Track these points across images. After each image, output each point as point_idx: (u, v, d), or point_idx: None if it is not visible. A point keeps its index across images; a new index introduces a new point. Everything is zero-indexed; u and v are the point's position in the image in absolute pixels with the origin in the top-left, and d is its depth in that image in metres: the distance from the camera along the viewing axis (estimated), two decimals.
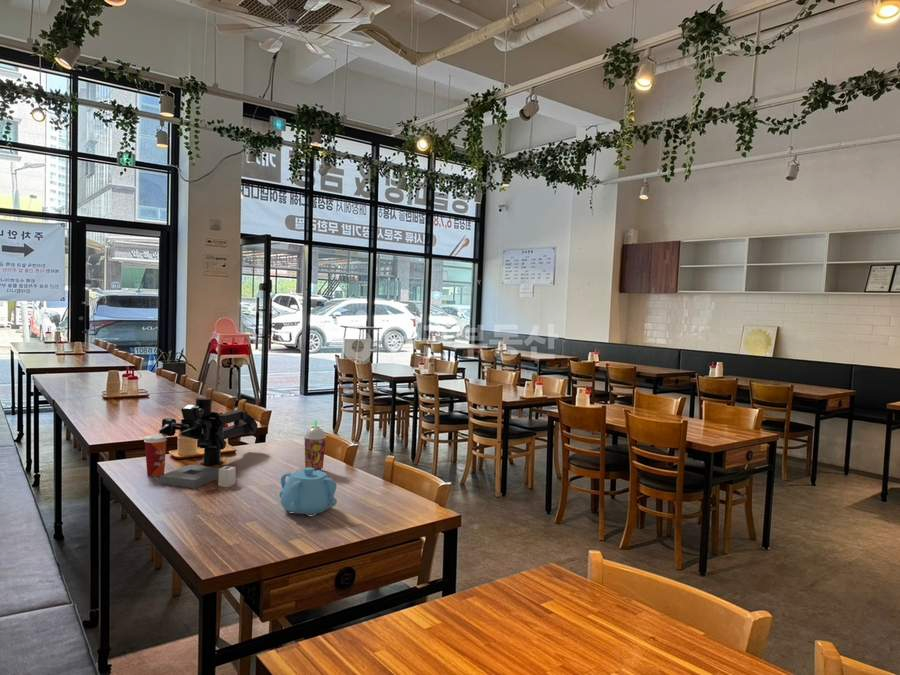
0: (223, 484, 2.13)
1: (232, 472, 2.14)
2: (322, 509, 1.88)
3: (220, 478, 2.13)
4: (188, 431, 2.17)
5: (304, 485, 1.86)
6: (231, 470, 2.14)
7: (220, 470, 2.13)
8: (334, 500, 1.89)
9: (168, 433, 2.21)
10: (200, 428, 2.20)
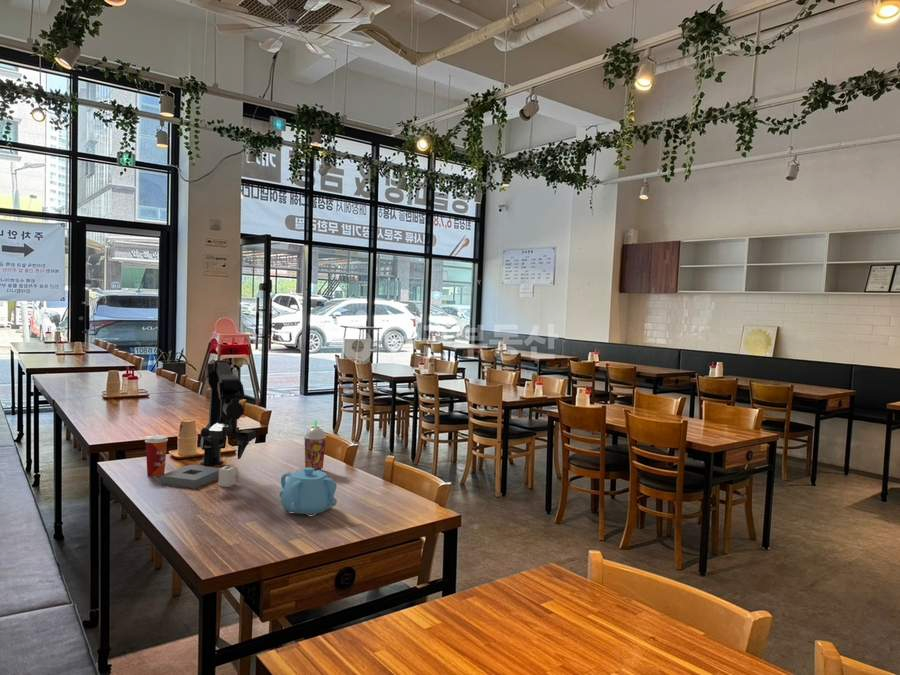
0: (223, 484, 2.13)
1: (232, 472, 2.14)
2: (322, 509, 1.88)
3: (220, 478, 2.13)
4: (240, 452, 2.12)
5: (304, 485, 1.86)
6: (231, 470, 2.14)
7: (220, 470, 2.13)
8: (334, 500, 1.89)
9: (218, 440, 2.17)
10: None
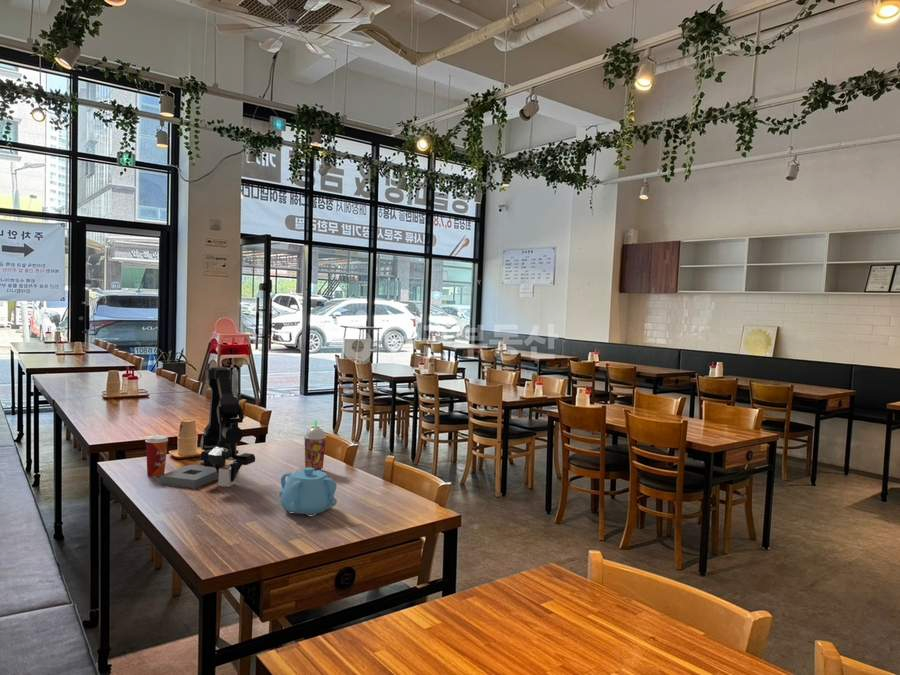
0: (223, 484, 2.13)
1: None
2: (322, 509, 1.88)
3: (220, 478, 2.13)
4: (234, 474, 2.13)
5: (304, 485, 1.86)
6: None
7: (220, 470, 2.13)
8: (334, 500, 1.89)
9: (223, 464, 2.16)
10: None
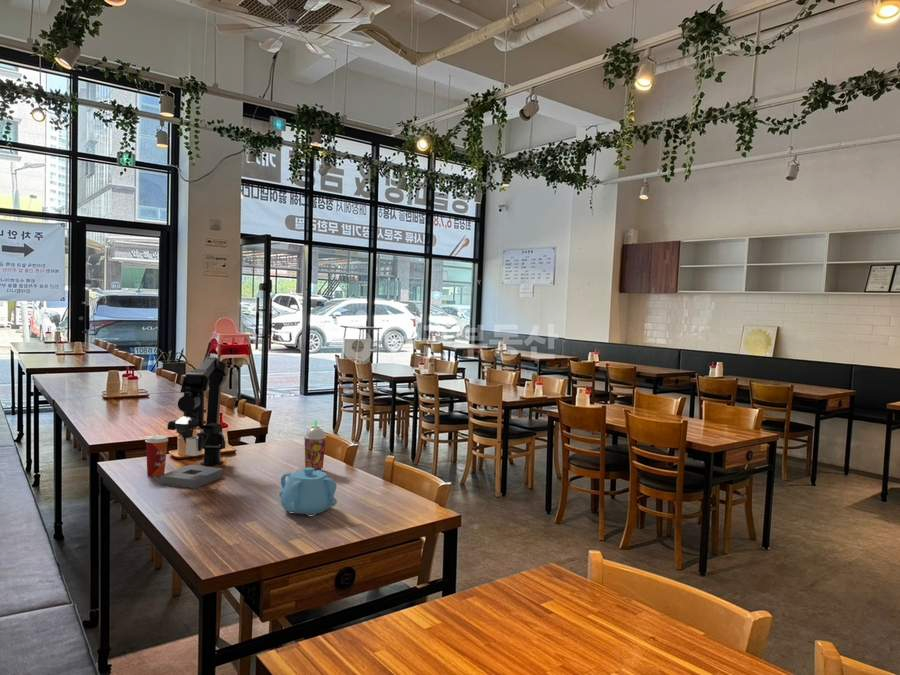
0: (190, 453, 2.15)
1: None
2: (322, 509, 1.88)
3: (187, 447, 2.15)
4: (201, 444, 2.16)
5: (304, 485, 1.86)
6: None
7: (187, 439, 2.15)
8: (334, 500, 1.89)
9: (191, 434, 2.19)
10: (205, 434, 2.15)
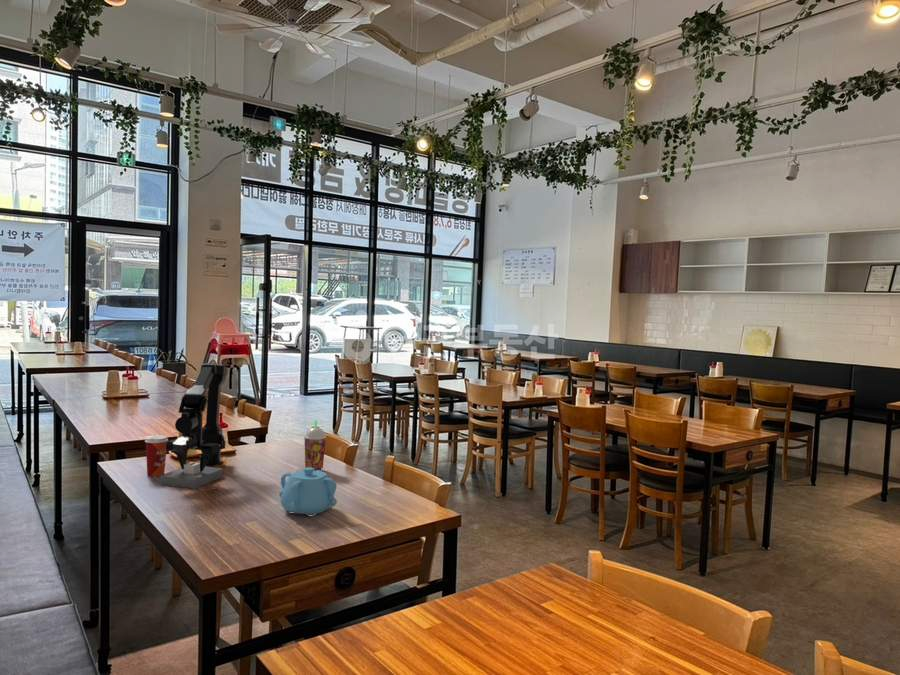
0: None
1: (197, 468, 2.17)
2: (322, 509, 1.88)
3: None
4: (203, 464, 2.16)
5: (304, 485, 1.86)
6: (196, 466, 2.17)
7: (185, 466, 2.16)
8: (334, 500, 1.89)
9: (185, 453, 2.20)
10: None
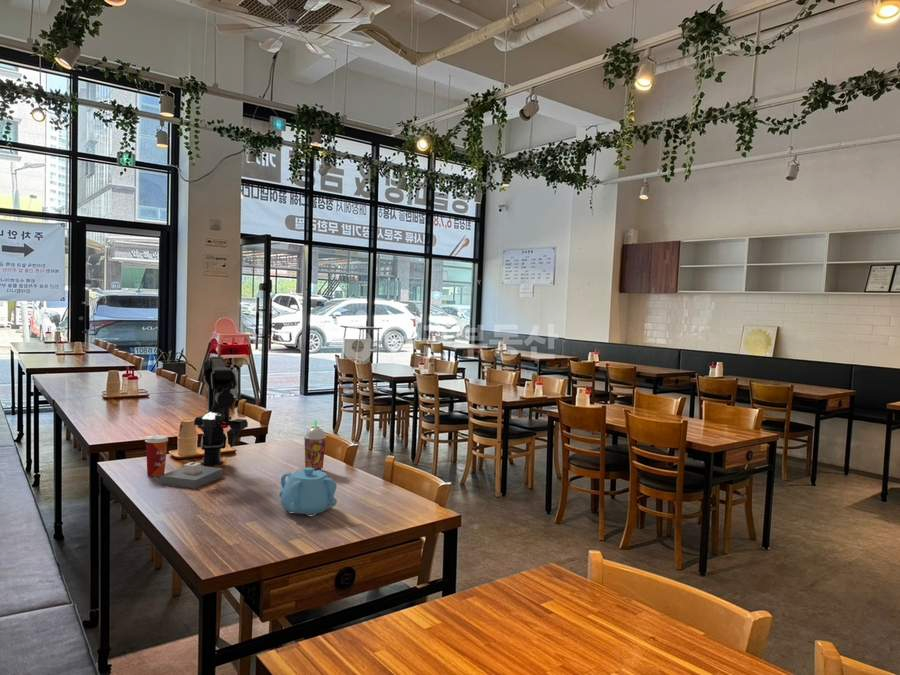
0: None
1: (197, 468, 2.17)
2: (322, 509, 1.88)
3: None
4: (233, 440, 2.20)
5: (304, 485, 1.86)
6: (196, 466, 2.17)
7: (185, 466, 2.16)
8: (334, 500, 1.89)
9: (211, 429, 2.24)
10: (237, 430, 2.18)
